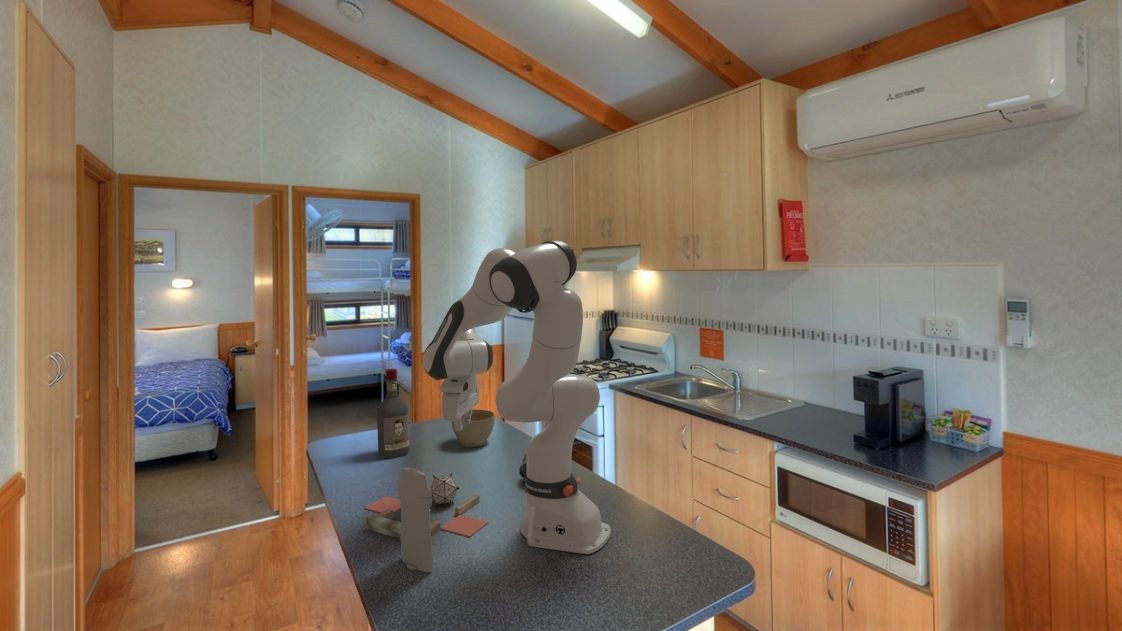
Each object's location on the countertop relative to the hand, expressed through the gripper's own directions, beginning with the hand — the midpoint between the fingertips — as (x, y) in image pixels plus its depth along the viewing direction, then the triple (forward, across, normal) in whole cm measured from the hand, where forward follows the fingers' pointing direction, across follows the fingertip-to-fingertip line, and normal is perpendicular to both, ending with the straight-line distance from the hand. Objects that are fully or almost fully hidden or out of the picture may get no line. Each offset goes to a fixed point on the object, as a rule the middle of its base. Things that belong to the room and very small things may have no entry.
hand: (463, 427), depth 154 cm
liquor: (+19, -25, -36) cm, 48 cm away
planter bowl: (+19, -40, -12) cm, 46 cm away
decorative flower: (+19, -10, +22) cm, 31 cm away
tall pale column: (+19, +39, +4) cm, 44 cm away
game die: (+19, +9, -2) cm, 22 cm away
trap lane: (+19, +16, -4) cm, 26 cm away
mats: (+19, +17, -5) cm, 26 cm away
